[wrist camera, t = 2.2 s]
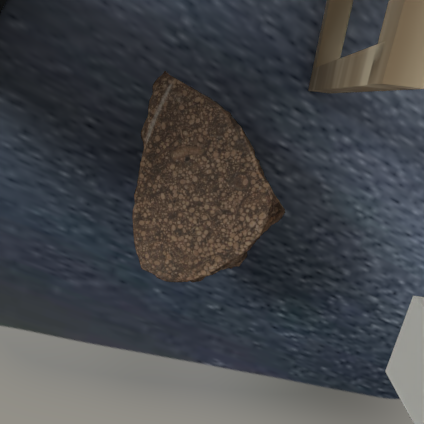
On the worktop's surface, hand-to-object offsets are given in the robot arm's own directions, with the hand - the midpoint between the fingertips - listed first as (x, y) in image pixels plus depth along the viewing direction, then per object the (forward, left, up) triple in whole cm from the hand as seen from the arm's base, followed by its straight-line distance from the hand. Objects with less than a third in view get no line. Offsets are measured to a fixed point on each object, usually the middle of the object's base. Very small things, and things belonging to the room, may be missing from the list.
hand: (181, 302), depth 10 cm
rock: (0, 0, -18) cm, 18 cm away
